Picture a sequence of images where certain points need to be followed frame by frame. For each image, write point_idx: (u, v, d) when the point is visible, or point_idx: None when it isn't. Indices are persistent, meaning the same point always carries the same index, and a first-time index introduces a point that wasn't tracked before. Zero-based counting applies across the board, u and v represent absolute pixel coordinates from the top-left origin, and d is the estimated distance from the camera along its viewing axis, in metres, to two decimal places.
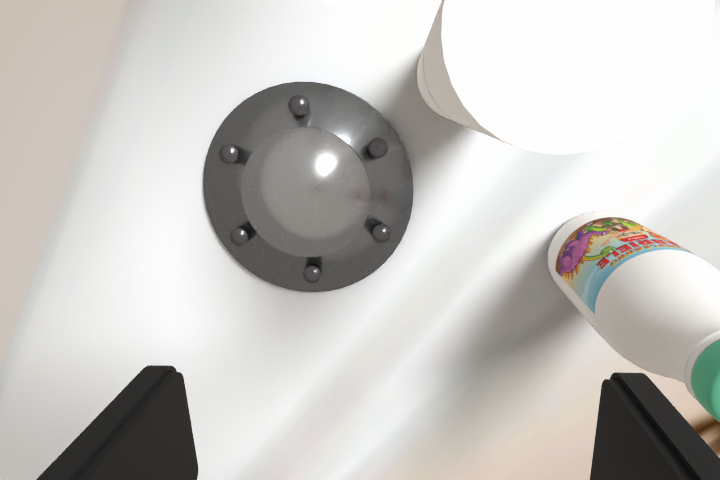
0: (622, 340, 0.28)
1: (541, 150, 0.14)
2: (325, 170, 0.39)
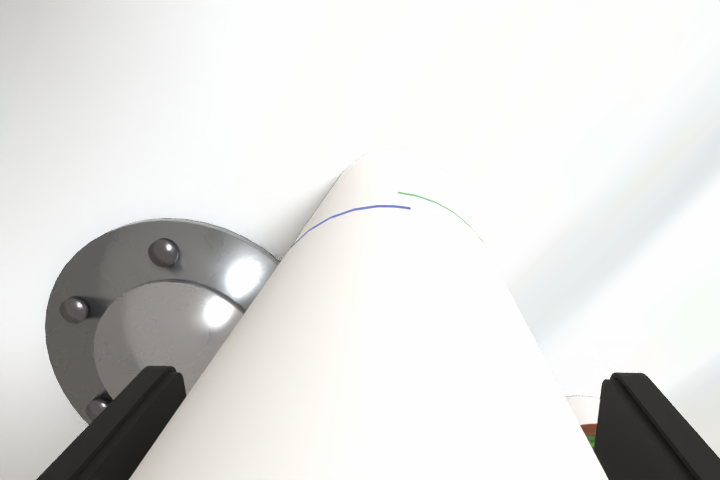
0: None
1: None
2: (206, 337, 0.28)
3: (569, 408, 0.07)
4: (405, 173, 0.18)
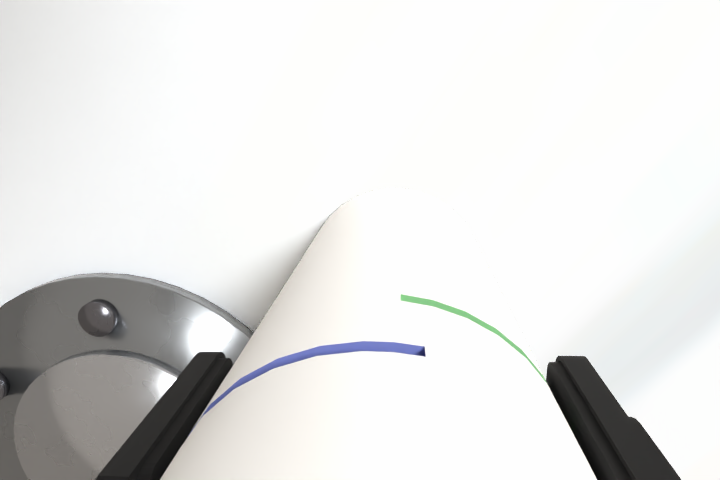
0: None
1: None
2: None
3: None
4: (412, 241, 0.12)
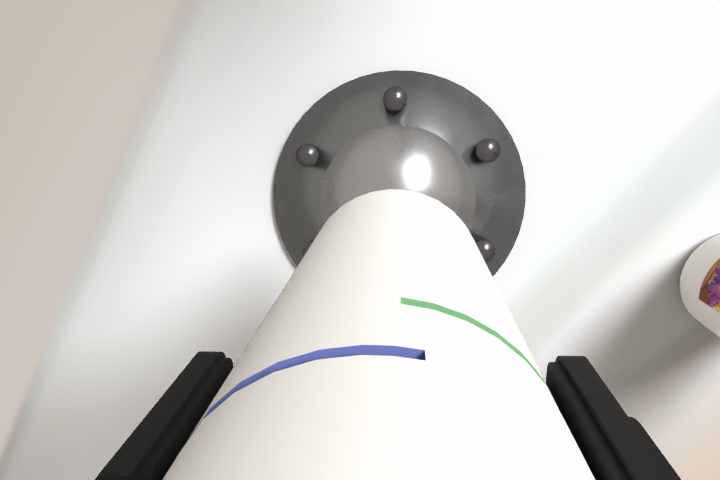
0: None
1: None
2: (423, 176, 0.33)
3: None
4: (412, 243, 0.12)
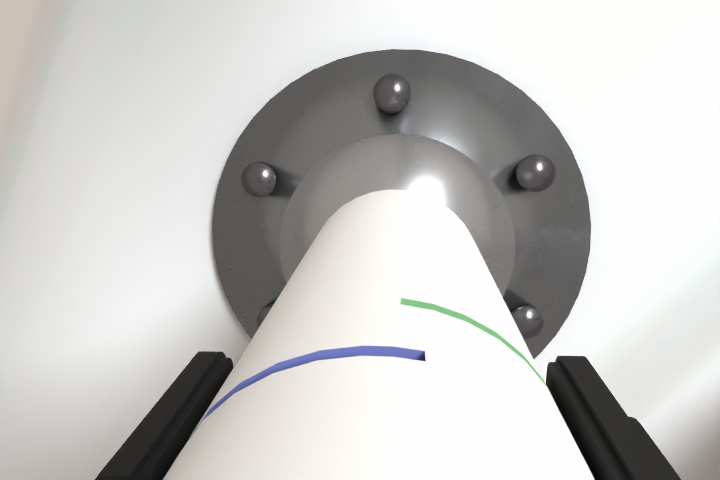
0: None
1: None
2: None
3: None
4: (411, 244, 0.12)
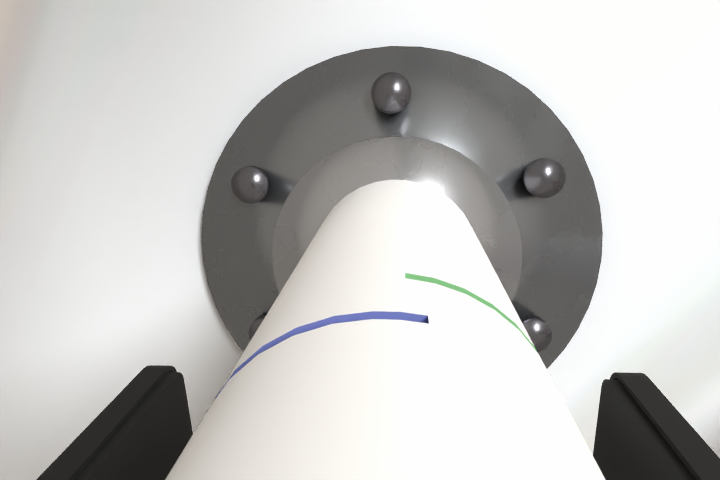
0: None
1: None
2: None
3: None
4: (414, 227, 0.13)
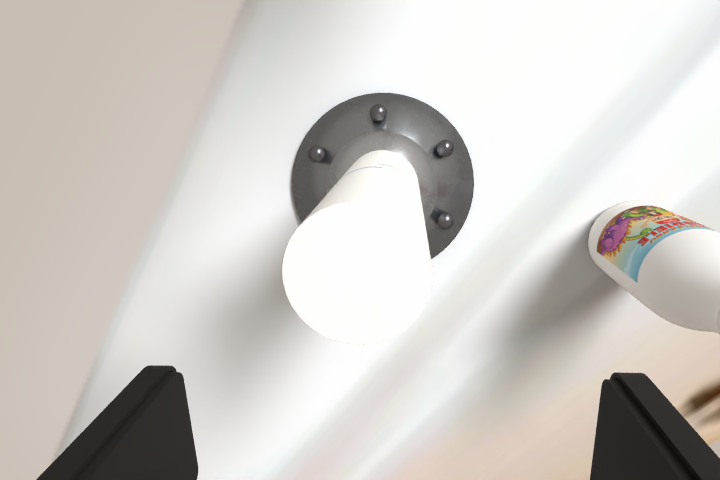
0: (662, 301, 0.34)
1: (346, 342, 0.23)
2: None
3: (415, 206, 0.27)
4: (384, 158, 0.38)
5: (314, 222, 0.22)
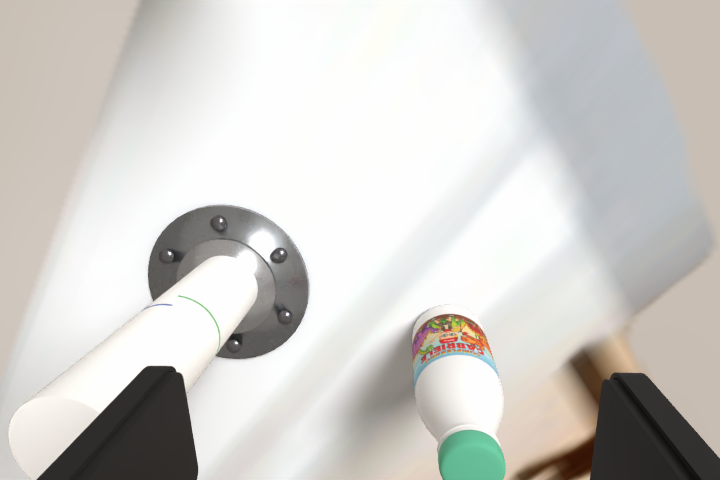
0: (423, 420, 0.39)
1: None
2: None
3: (162, 364, 0.32)
4: (199, 280, 0.43)
5: (28, 408, 0.27)
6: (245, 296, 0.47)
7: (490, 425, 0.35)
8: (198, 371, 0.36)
